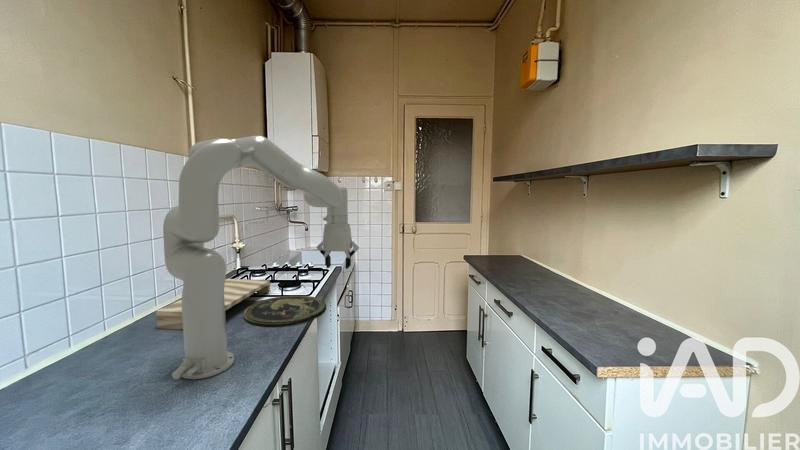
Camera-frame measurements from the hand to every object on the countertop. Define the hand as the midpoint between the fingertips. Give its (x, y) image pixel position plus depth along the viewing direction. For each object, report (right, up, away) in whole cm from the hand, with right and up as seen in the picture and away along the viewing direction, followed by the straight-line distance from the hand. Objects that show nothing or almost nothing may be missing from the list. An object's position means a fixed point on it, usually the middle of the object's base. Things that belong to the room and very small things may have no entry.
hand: (338, 267), depth 122 cm
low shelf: (-46, -17, +6) cm, 50 cm away
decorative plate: (-21, -18, +4) cm, 27 cm away
